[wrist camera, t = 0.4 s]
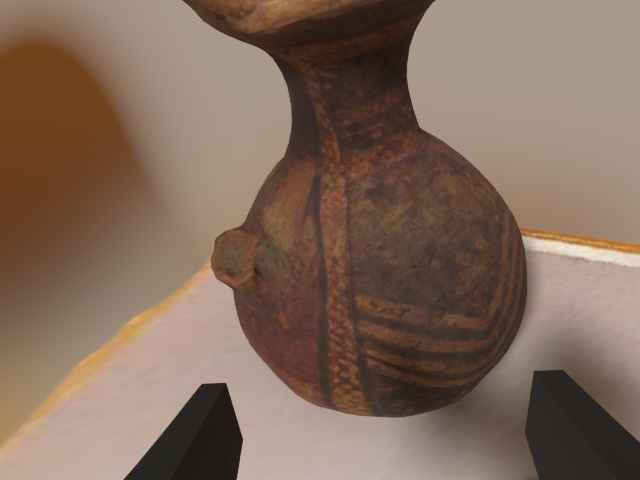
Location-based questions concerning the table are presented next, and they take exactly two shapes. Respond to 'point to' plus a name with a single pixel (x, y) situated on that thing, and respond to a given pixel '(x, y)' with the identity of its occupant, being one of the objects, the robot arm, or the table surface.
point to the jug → (366, 223)
